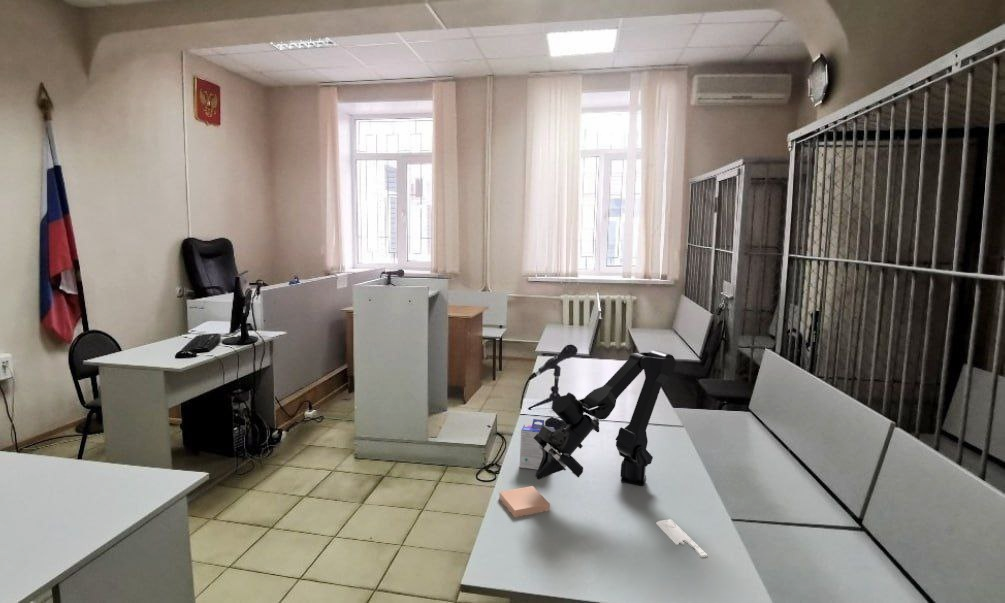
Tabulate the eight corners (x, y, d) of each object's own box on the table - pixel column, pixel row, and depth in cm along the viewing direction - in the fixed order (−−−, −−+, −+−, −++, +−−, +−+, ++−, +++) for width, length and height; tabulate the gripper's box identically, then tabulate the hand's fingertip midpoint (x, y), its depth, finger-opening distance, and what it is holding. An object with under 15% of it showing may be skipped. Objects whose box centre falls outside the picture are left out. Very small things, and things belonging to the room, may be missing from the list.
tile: (532, 485, 146) (499, 491, 142) (549, 503, 137) (514, 510, 133) (532, 494, 147) (499, 500, 143) (549, 512, 138) (514, 519, 134)
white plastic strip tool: (687, 561, 119) (687, 556, 119) (653, 524, 133) (653, 520, 133) (707, 558, 120) (707, 553, 120) (671, 522, 134) (671, 518, 134)
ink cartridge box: (553, 464, 165) (555, 419, 163) (551, 472, 159) (553, 426, 158) (522, 460, 167) (523, 416, 165) (519, 468, 161) (520, 422, 159)
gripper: (541, 404, 149) (503, 446, 146) (575, 428, 132) (534, 476, 129) (564, 428, 153) (528, 469, 150) (600, 454, 136) (560, 501, 133)
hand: (536, 478), depth 141 cm, fingers closed
